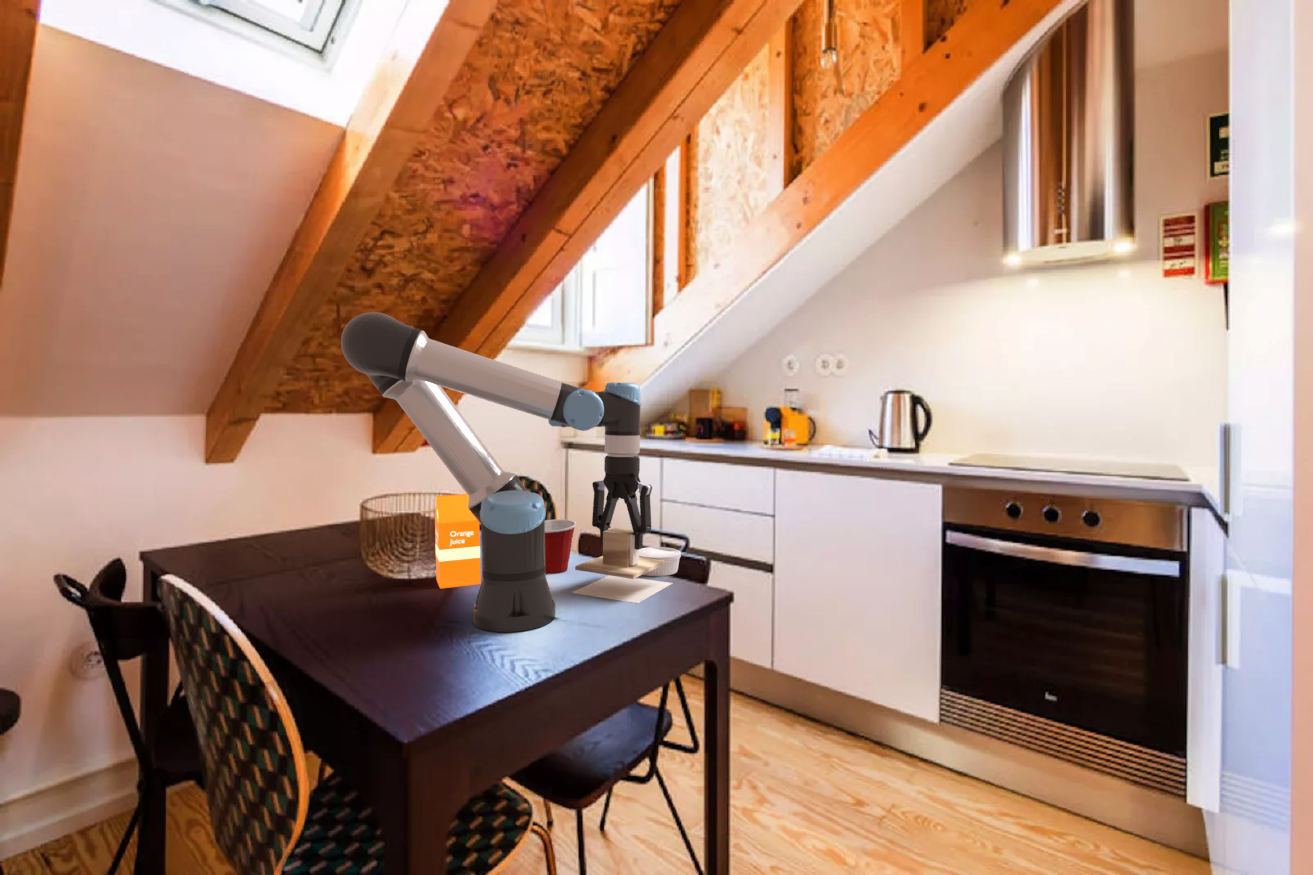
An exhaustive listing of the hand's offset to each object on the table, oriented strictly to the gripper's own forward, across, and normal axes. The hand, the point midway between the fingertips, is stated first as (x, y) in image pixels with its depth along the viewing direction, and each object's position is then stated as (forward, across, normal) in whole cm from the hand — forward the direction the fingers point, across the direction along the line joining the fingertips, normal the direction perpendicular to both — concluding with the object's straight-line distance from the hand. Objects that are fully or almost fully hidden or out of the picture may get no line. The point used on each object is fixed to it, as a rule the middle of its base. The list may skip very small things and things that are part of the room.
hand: (620, 561), depth 140 cm
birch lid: (+1, 0, 0) cm, 1 cm away
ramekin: (+6, 0, -16) cm, 18 cm away
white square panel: (+6, 0, 0) cm, 6 cm away
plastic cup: (+7, +22, -5) cm, 23 cm away
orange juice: (+7, +36, +11) cm, 39 cm away
